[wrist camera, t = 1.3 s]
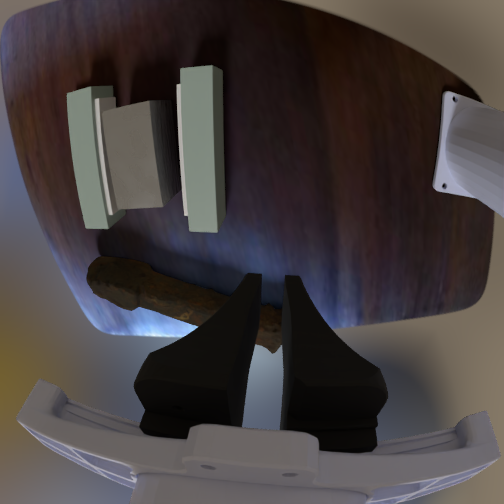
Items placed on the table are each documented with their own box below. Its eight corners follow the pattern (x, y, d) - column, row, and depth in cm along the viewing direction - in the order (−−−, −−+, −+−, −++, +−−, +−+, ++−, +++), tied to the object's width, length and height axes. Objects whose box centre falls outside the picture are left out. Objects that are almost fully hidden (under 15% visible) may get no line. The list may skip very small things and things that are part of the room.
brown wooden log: (293, 301, 26) (293, 338, 22) (276, 330, 28) (274, 366, 24) (102, 231, 24) (75, 255, 20) (100, 264, 26) (76, 291, 22)
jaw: (222, 70, 17) (212, 65, 14) (225, 215, 22) (217, 232, 20) (189, 73, 17) (174, 69, 14) (195, 214, 22) (184, 231, 20)
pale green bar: (117, 84, 18) (95, 85, 15) (129, 213, 23) (112, 229, 20) (75, 95, 18) (52, 98, 15) (90, 214, 23) (72, 228, 21)
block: (172, 99, 18) (149, 100, 15) (182, 188, 22) (162, 206, 18) (130, 107, 19) (101, 111, 15) (141, 191, 22) (117, 209, 19)
